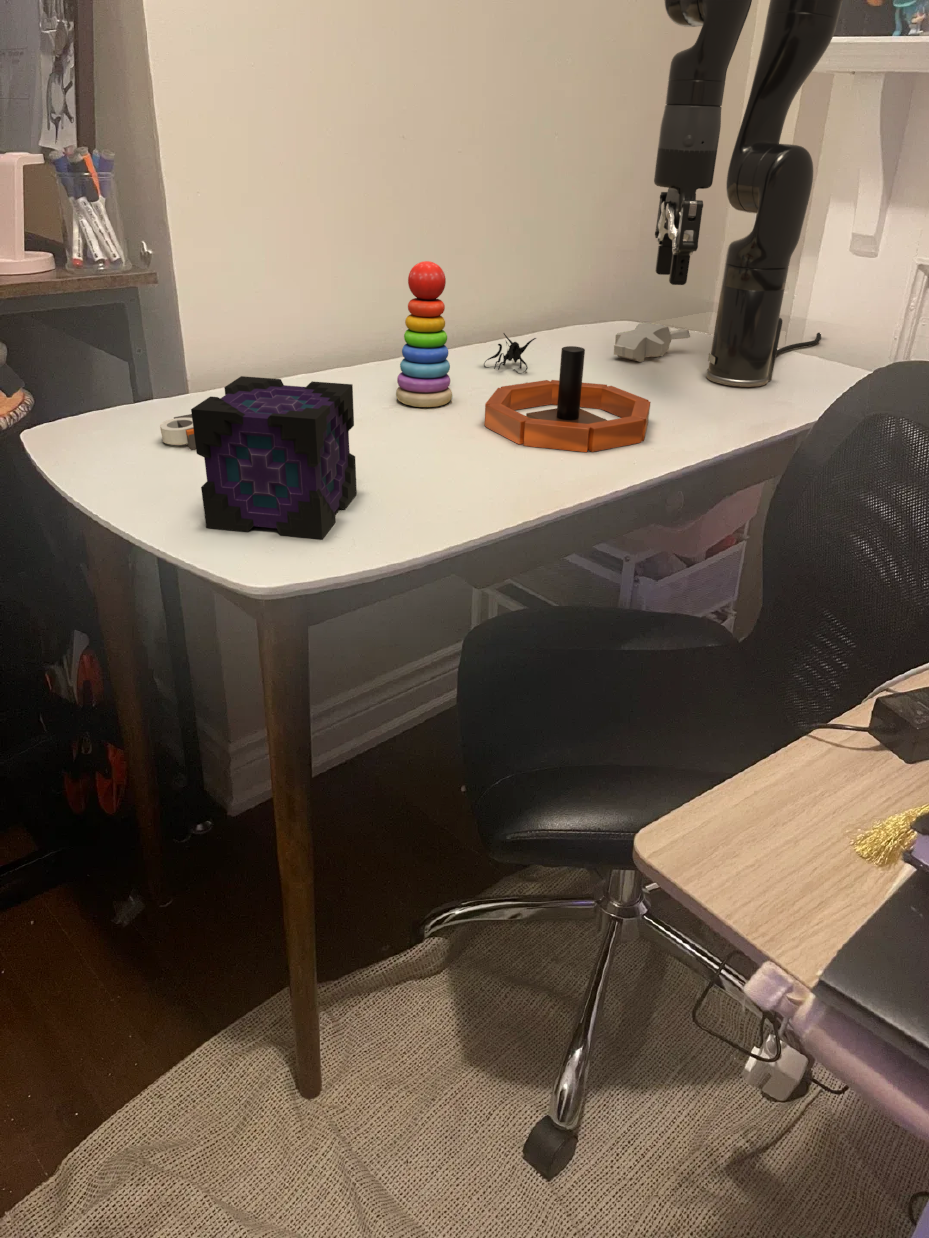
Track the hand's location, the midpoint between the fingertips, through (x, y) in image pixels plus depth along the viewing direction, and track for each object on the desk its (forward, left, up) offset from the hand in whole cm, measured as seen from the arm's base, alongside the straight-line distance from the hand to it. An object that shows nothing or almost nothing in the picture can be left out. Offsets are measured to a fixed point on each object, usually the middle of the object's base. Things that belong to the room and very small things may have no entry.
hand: (670, 279), depth 124 cm
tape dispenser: (+60, -13, -17) cm, 64 cm away
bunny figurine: (-18, -22, -17) cm, 33 cm away
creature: (+9, -25, -17) cm, 31 cm away
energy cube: (+62, +13, -17) cm, 66 cm away
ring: (+18, +3, -17) cm, 25 cm away
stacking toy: (+30, -15, -17) cm, 38 cm away
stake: (+18, +3, -17) cm, 25 cm away
